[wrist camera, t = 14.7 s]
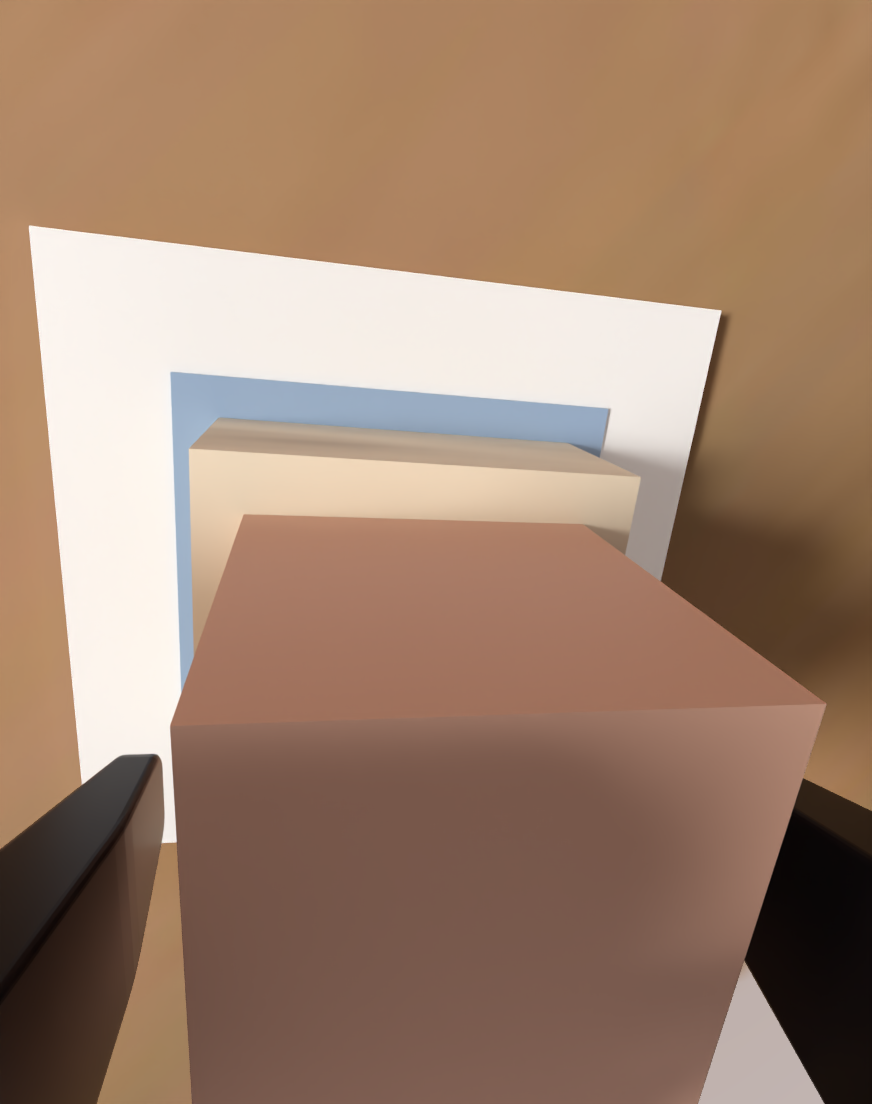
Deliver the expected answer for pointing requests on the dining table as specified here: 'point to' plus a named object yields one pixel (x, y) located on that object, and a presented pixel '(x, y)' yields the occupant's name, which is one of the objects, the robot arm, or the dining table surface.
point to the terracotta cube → (468, 818)
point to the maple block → (388, 484)
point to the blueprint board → (304, 417)
